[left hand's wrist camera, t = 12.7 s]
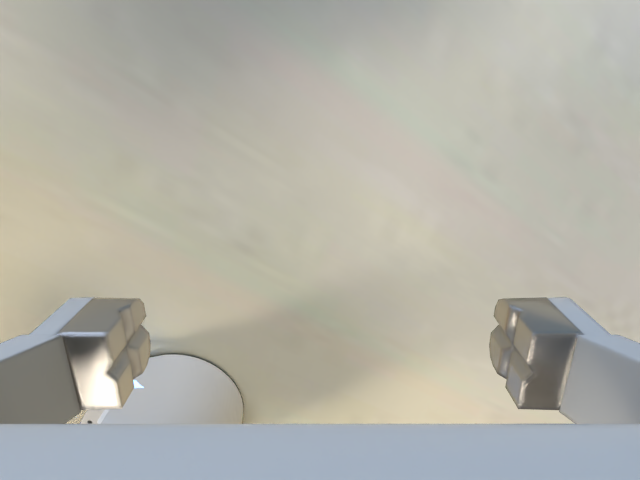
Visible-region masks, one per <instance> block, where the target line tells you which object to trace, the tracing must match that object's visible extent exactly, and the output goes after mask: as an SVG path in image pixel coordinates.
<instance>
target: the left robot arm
mask: <svg viewBox="0 0 640 480" xmlns="http://www.w3.org/2000/svg"><path fill="white" fill-rule="evenodd" d="M145 317H146V312H145V307H144V303H143V302H142V301H141V300H140V299H138V298H95V297H85V298H70V299H69V300H68V301H66V302H65V303H64V304H63V305H62V306H61V307H60V308H59V309H57V310H56V311H55V312H54V313H53V314H52V315H51V316H50V317H49V318H47V319H46V320H45V321H44V322H43V323H42V324H41V325H40V326H38V327H37V328H36V329H35V330H34V331H33V332H32V333H31V334H29V335H20V336H18V337H15V338H13V339H10V340H7V341H5V342H2V343H0V480H640V343H638V342H635V341H632V340H630V339H627V338H625V337H622V336H620V335H611V334H609V333H608V332H607V331H606V330H605V329H604V328H603V327H602V326H601V325H599V324H598V323H597V322H596V321H595V320H594V319H593V318H592V317H590V316H589V315H588V314H587V313H586V312H585V311H584V310H583V309H581V308H580V307H579V306H578V305H577V304H576V303H575V302H574V301H573V300H571V299H570V298H566V297H557V298H509V299H499V300H498V302H497V304H496V306H495V312H494V317H495V319H496V320H497V322H498V324H499V325H498V326H497V327H496V328H495V329H494V330H493V331H492V332H491V336H490V344H489V348H490V358H491V361H492V364H493V367H494V368H495V370H496V372H497V374H499V375H500V376H502V377H504V378H505V379H507V381H506V389H507V391H508V392H509V394H510V396H511V397H512V399H513V401H514V402H515V404H516V406H517V407H518V409H541V410H559V412H560V413H562V414H563V415H564V416H566V417H567V418H568V419H570V420H571V421H572V422H574V423H575V424H242V419H243V402H242V398H241V395H240V393H239V390H238V389H237V387H236V385H235V384H234V383H233V381H232V380H231V379H230V378H229V377H228V376H227V375H226V374H225V373H224V372H223V371H221V370H220V369H219V368H217V367H216V366H214V365H212V364H210V363H208V362H206V361H204V360H201V359H199V358H195V357H191V356H186V355H177V354H169V355H160V356H155V357H150V358H149V356H150V336H149V332H148V331H147V330H146V329H145V328H144V327H143V326H142V325H141V324H142V322H143V320H144V319H145ZM80 410H87V411H86V413H85V414H84V416H83V418H82V420H81V422H80V424H65V423H66V422H68V421H69V420H70V419H72V418H73V417H75V416H76V415H77V414H79V413H80V412H81V411H80Z"/></svg>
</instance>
